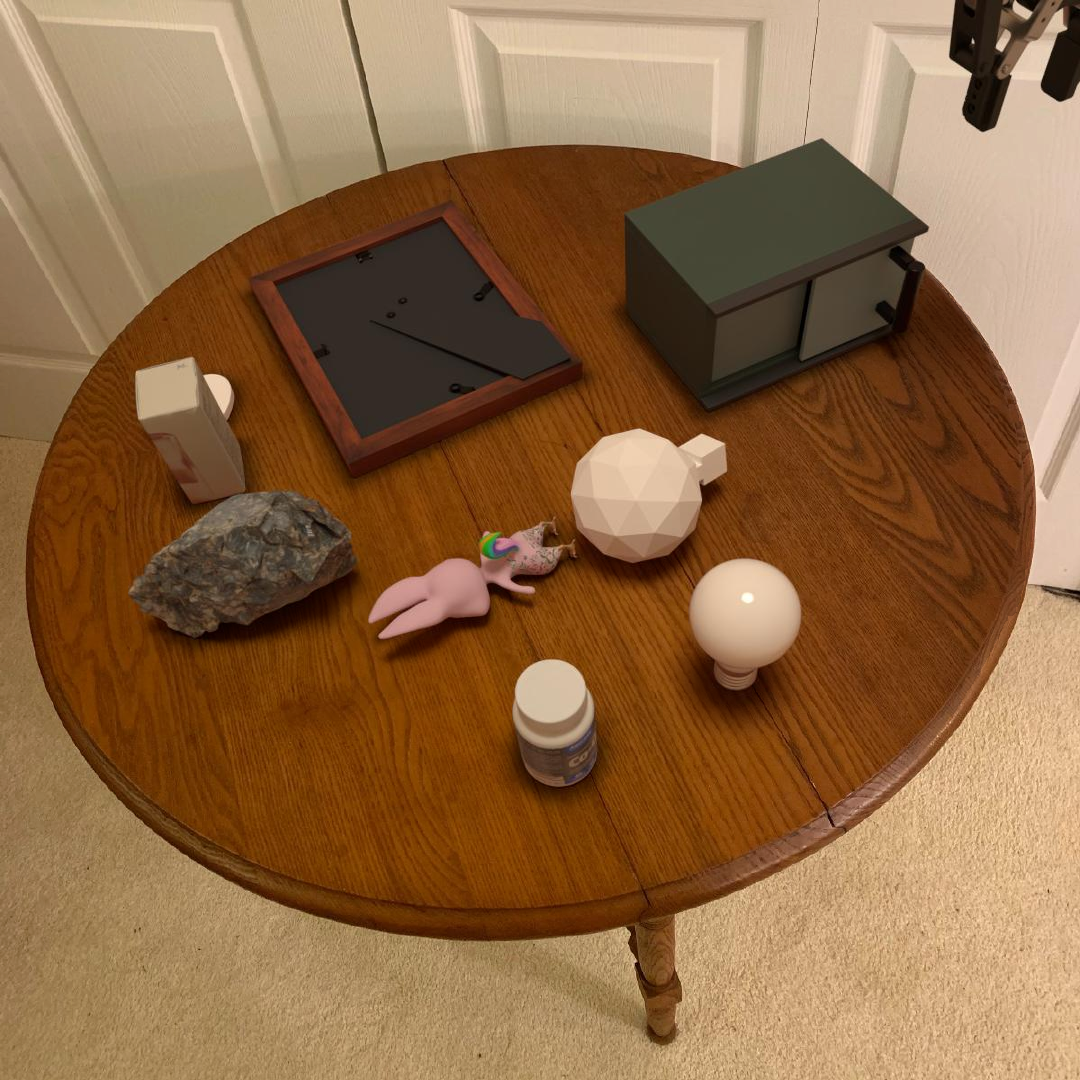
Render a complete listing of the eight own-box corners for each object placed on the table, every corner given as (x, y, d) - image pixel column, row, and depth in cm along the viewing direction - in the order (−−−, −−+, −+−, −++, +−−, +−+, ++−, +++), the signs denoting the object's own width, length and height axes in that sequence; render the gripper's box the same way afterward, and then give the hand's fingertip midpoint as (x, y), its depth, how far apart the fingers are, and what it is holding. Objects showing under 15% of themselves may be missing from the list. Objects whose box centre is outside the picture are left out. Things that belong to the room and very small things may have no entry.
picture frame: (583, 377, 80) (454, 215, 94) (581, 359, 79) (450, 197, 92) (353, 478, 76) (253, 293, 90) (347, 461, 75) (246, 275, 88)
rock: (198, 709, 66) (136, 633, 58) (143, 607, 71) (79, 524, 63) (383, 598, 70) (349, 512, 62) (318, 509, 75) (279, 419, 67)
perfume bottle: (635, 608, 65) (763, 524, 70) (617, 492, 60) (757, 410, 65) (555, 556, 71) (677, 482, 76) (532, 447, 66) (665, 375, 71)
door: (917, 345, 78) (943, 259, 71) (824, 386, 77) (842, 301, 70) (888, 319, 80) (912, 233, 73) (798, 358, 79) (813, 273, 72)
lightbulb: (663, 676, 64) (667, 584, 55) (729, 616, 67) (743, 518, 58) (739, 741, 61) (756, 655, 52) (805, 676, 64) (832, 582, 55)
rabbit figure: (539, 528, 74) (354, 611, 68) (544, 471, 69) (346, 555, 63) (587, 586, 70) (397, 678, 65) (595, 530, 66) (392, 625, 60)
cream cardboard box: (186, 459, 79) (134, 367, 71) (241, 445, 79) (195, 353, 71) (189, 509, 76) (135, 419, 68) (246, 495, 76) (199, 404, 68)
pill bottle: (584, 797, 60) (577, 740, 53) (511, 776, 61) (495, 716, 54) (607, 728, 63) (603, 664, 56) (536, 708, 64) (524, 643, 57)
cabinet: (900, 329, 81) (929, 226, 72) (707, 412, 77) (715, 314, 69) (805, 240, 88) (822, 137, 80) (625, 312, 84) (623, 212, 76)
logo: (238, 426, 80) (229, 360, 85) (235, 420, 79) (226, 353, 84) (158, 447, 80) (153, 379, 84) (154, 440, 79) (150, 372, 83)
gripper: (1060, -138, 47) (965, 176, 61) (1289, -215, 50) (1149, 102, 63) (954, -187, 51) (887, 117, 65) (1171, -256, 54) (1063, 50, 68)
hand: (1017, 108), depth 64 cm, fingers open, 5 cm apart
